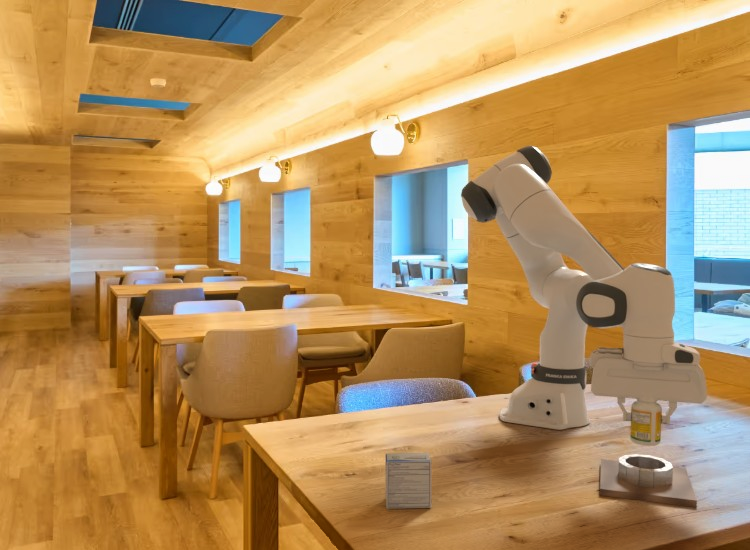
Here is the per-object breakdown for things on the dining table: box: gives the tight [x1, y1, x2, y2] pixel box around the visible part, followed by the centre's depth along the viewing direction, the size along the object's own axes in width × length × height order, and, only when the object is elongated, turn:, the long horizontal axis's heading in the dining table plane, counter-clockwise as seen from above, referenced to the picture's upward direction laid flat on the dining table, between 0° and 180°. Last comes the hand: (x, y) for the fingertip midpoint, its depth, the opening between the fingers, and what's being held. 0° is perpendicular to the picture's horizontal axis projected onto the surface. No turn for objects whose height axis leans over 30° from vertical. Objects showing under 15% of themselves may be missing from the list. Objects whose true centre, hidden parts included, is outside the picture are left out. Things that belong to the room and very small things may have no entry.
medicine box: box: [385, 452, 433, 510], centre depth 116 cm, size 8×4×9 cm, turn 92°
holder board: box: [599, 453, 698, 508], centre depth 126 cm, size 16×17×4 cm
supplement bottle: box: [629, 394, 663, 447], centre depth 125 cm, size 5×5×10 cm
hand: (645, 422), depth 125 cm, fingers closed on supplement bottle, 5 cm apart
